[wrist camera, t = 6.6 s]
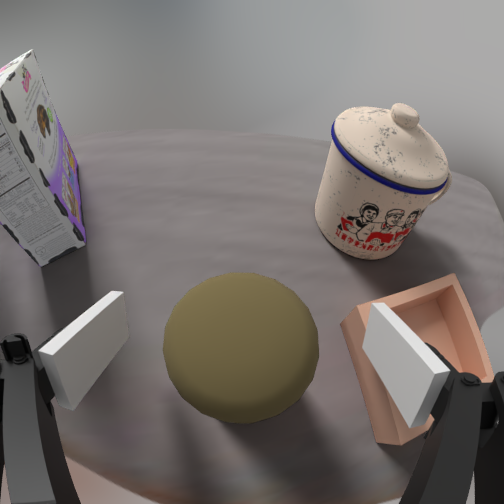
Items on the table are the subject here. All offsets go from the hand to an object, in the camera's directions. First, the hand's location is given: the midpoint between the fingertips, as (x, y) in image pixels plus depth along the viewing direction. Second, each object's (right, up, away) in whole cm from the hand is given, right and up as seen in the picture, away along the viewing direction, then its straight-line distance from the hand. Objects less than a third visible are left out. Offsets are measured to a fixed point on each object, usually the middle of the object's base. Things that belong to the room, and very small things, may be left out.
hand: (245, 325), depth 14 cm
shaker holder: (+12, -4, +3) cm, 13 cm away
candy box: (-20, +8, +11) cm, 24 cm away
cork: (0, -5, +3) cm, 6 cm away
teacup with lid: (+11, +6, +10) cm, 17 cm away
